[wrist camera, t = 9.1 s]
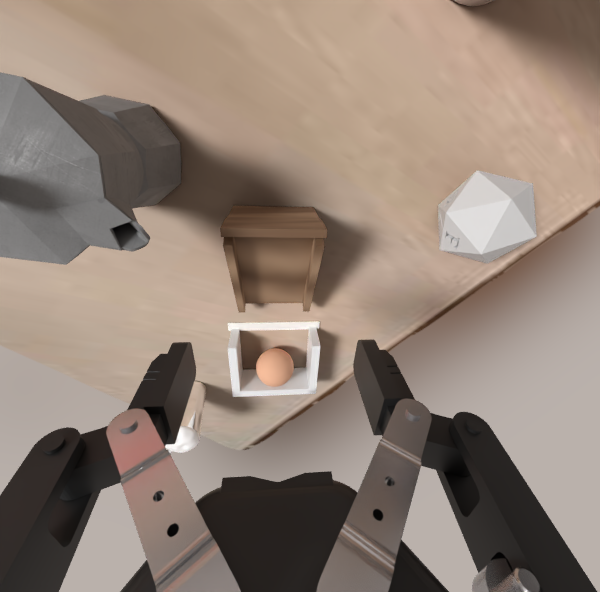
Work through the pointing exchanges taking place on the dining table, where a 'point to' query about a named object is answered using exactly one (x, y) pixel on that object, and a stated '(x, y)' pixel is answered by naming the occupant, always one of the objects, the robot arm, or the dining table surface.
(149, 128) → the coffeepot
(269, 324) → the tape line
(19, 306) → the dining table surface
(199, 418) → the milkshake
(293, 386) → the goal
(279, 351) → the ball
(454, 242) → the die
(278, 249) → the ramp
